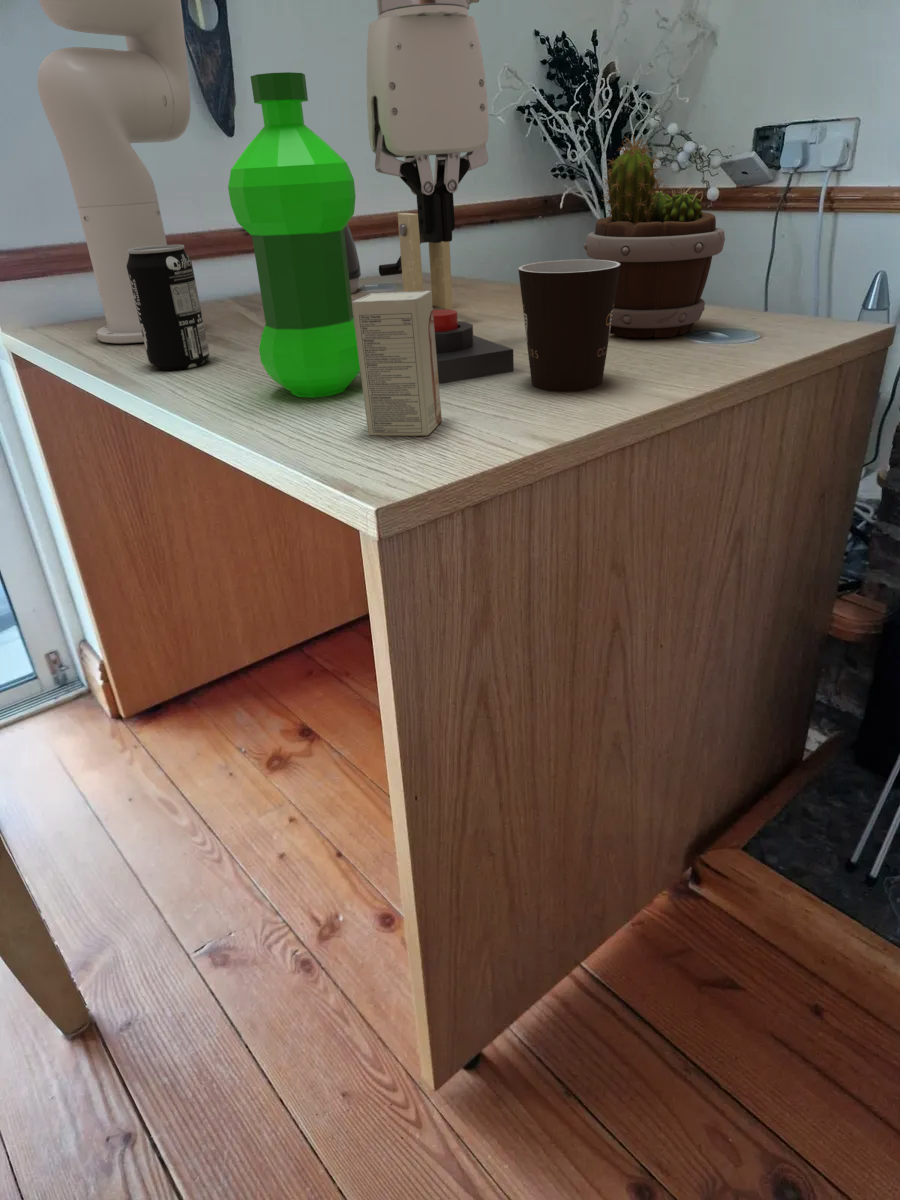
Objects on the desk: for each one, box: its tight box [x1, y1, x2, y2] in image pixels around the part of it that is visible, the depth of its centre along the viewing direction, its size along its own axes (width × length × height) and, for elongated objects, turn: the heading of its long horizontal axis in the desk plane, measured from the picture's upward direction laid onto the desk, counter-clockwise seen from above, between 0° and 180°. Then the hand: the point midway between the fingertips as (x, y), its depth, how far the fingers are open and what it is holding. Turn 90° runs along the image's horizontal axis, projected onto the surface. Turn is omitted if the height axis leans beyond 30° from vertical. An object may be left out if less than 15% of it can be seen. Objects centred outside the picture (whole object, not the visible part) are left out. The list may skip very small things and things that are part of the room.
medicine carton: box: [352, 290, 443, 437], centre depth 61 cm, size 5×4×10 cm
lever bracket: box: [397, 212, 454, 310], centre depth 102 cm, size 10×8×13 cm
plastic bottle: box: [227, 71, 360, 399], centre depth 69 cm, size 10×10×25 cm
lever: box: [378, 230, 427, 277], centre depth 104 cm, size 13×6×2 cm, turn 25°
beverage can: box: [127, 244, 210, 371], centre depth 86 cm, size 7×7×12 cm
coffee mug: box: [517, 259, 620, 393], centre depth 71 cm, size 12×9×10 cm
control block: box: [435, 320, 515, 385], centre depth 80 cm, size 12×10×4 cm
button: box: [433, 308, 459, 331], centre depth 78 cm, size 4×4×2 cm
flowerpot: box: [583, 130, 726, 339], centre depth 87 cm, size 14×15×20 cm
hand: (437, 241), depth 75 cm, fingers closed
